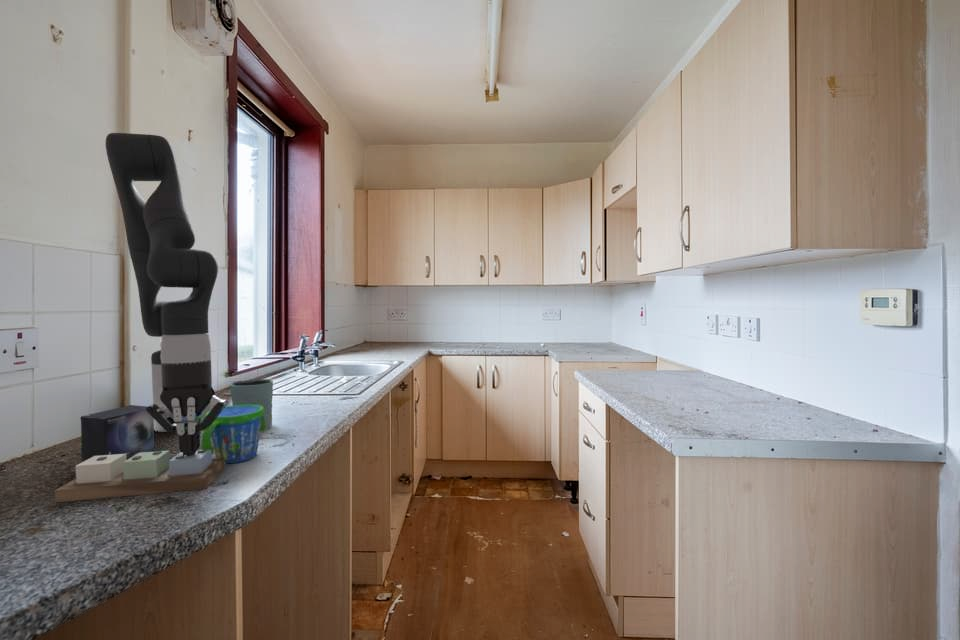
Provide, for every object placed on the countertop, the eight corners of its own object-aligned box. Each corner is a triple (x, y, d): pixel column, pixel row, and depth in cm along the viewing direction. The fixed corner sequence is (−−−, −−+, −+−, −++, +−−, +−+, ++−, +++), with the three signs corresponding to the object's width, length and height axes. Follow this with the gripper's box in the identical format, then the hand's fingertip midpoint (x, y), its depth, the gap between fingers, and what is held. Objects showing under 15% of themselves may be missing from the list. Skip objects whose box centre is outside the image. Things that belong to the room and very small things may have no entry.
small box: (106, 471, 85) (104, 417, 85) (79, 469, 86) (77, 416, 86) (156, 453, 95) (155, 405, 95) (132, 451, 97) (130, 404, 96)
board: (94, 478, 81) (94, 468, 81) (225, 467, 86) (225, 457, 86) (55, 502, 72) (55, 490, 72) (205, 488, 76) (204, 477, 76)
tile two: (139, 471, 81) (138, 451, 81) (170, 469, 82) (169, 448, 82) (123, 482, 76) (123, 460, 76) (156, 479, 77) (155, 458, 77)
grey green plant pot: (263, 432, 110) (261, 385, 109) (222, 433, 110) (220, 385, 109) (280, 422, 120) (279, 378, 119) (243, 422, 120) (242, 378, 119)
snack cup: (224, 475, 83) (222, 421, 82) (182, 469, 86) (180, 417, 85) (284, 448, 97) (283, 403, 97) (247, 444, 101) (245, 400, 100)
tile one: (95, 475, 79) (94, 454, 79) (127, 472, 80) (126, 451, 80) (76, 486, 74) (75, 464, 74) (110, 483, 75) (109, 461, 75)
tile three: (182, 470, 82) (181, 449, 82) (211, 467, 83) (211, 447, 83) (169, 480, 77) (168, 459, 77) (201, 477, 78) (200, 456, 78)
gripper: (233, 355, 85) (236, 444, 85) (155, 358, 82) (159, 450, 82) (219, 360, 77) (222, 457, 78) (133, 363, 74) (137, 464, 75)
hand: (189, 453), depth 80 cm, fingers closed
